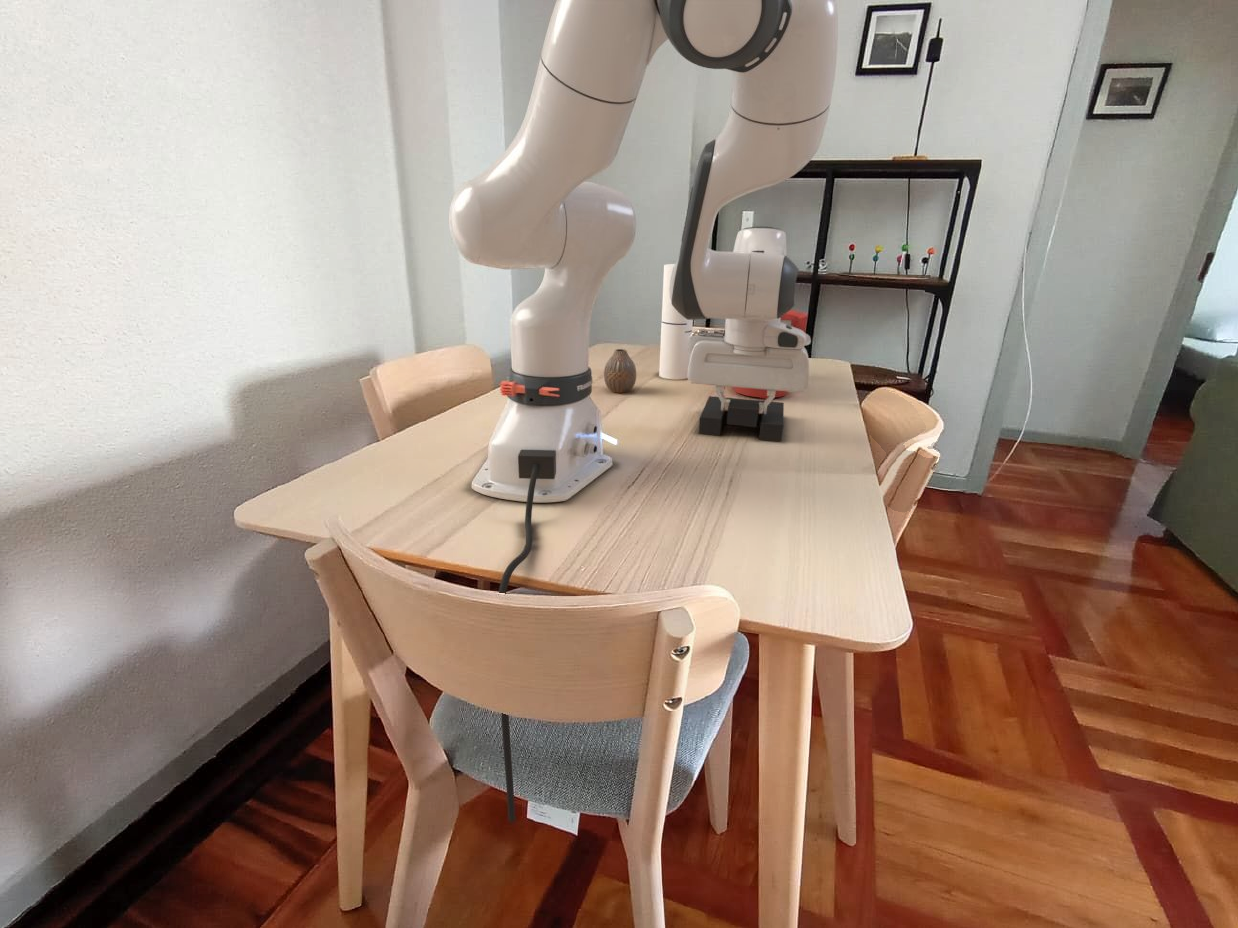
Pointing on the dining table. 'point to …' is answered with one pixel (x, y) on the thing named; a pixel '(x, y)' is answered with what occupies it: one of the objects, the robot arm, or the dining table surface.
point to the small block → (743, 412)
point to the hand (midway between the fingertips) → (743, 412)
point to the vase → (620, 372)
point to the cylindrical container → (673, 335)
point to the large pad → (768, 423)
